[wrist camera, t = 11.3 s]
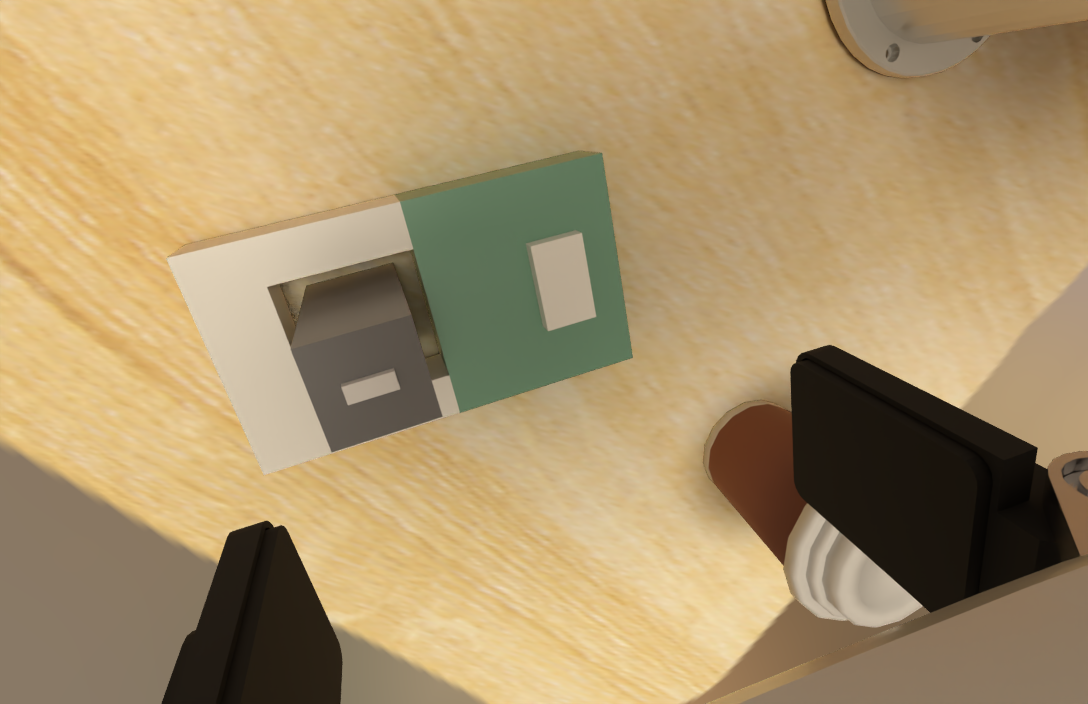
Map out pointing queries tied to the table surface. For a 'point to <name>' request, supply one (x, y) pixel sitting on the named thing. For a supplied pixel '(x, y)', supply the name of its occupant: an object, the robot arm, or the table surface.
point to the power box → (447, 284)
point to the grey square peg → (362, 358)
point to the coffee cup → (797, 520)
